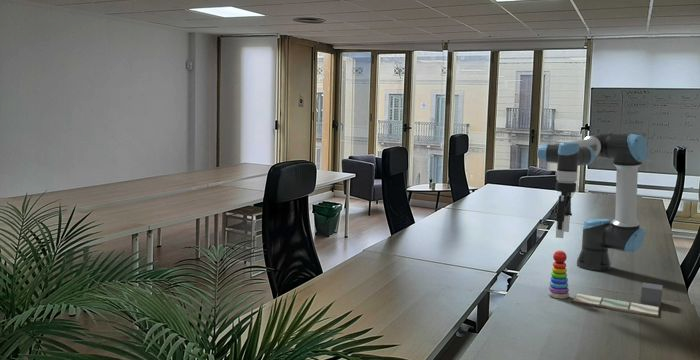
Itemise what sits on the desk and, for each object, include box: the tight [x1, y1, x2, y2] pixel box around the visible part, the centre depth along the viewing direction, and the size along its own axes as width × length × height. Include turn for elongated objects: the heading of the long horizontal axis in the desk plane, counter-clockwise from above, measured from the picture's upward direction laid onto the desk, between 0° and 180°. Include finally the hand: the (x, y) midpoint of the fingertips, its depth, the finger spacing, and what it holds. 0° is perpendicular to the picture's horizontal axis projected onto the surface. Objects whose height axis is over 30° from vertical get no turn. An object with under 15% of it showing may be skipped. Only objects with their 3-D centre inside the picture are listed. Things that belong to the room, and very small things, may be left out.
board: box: [571, 293, 660, 319], centre depth 224 cm, size 11×30×1 cm, turn 61°
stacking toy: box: [547, 250, 570, 300], centre depth 233 cm, size 8×8×19 cm
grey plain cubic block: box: [639, 282, 663, 308], centre depth 228 cm, size 7×7×7 cm
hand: (562, 234), depth 231 cm, fingers open, 13 cm apart
